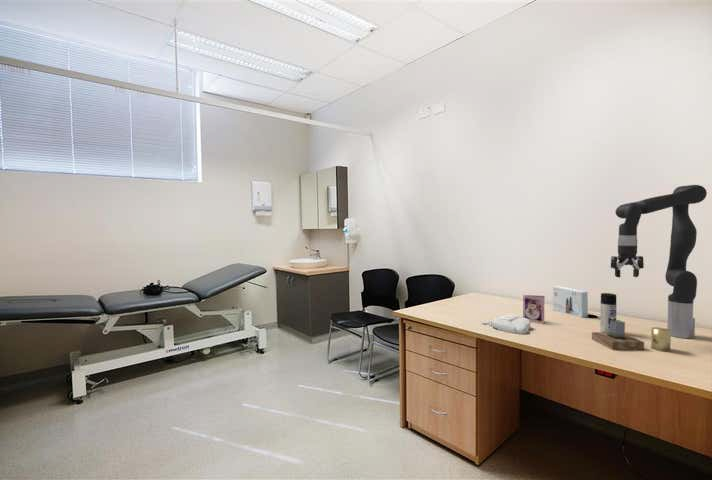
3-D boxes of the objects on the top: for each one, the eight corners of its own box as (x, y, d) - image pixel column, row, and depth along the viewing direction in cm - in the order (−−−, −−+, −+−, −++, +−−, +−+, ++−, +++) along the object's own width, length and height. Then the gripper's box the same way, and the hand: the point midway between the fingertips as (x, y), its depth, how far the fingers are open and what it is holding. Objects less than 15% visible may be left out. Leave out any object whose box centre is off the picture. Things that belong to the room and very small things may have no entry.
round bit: (661, 346, 157) (662, 327, 156) (674, 351, 150) (675, 331, 150) (647, 346, 157) (647, 327, 157) (659, 351, 150) (659, 331, 150)
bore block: (621, 339, 167) (621, 332, 167) (644, 349, 153) (644, 342, 153) (591, 339, 167) (591, 332, 167) (612, 349, 153) (612, 341, 153)
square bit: (617, 342, 162) (618, 320, 162) (624, 345, 158) (624, 322, 158) (609, 342, 162) (609, 320, 162) (615, 345, 158) (616, 322, 158)
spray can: (609, 334, 175) (610, 295, 174) (596, 330, 181) (597, 293, 180) (619, 333, 176) (620, 294, 176) (606, 329, 183) (607, 292, 182)
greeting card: (522, 320, 202) (522, 295, 201) (527, 318, 206) (527, 293, 206) (543, 324, 193) (543, 298, 192) (548, 321, 198) (548, 296, 197)
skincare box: (551, 309, 226) (552, 286, 225) (558, 309, 227) (558, 285, 227) (581, 318, 206) (581, 291, 205) (588, 317, 207) (588, 291, 207)
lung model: (526, 335, 174) (477, 331, 189) (532, 328, 188) (485, 324, 203) (525, 322, 174) (476, 319, 189) (531, 315, 188) (484, 313, 203)
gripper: (636, 244, 172) (635, 275, 173) (607, 244, 173) (606, 276, 173) (648, 244, 165) (647, 278, 165) (618, 245, 165) (617, 278, 166)
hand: (626, 277), depth 169 cm, fingers open, 8 cm apart
